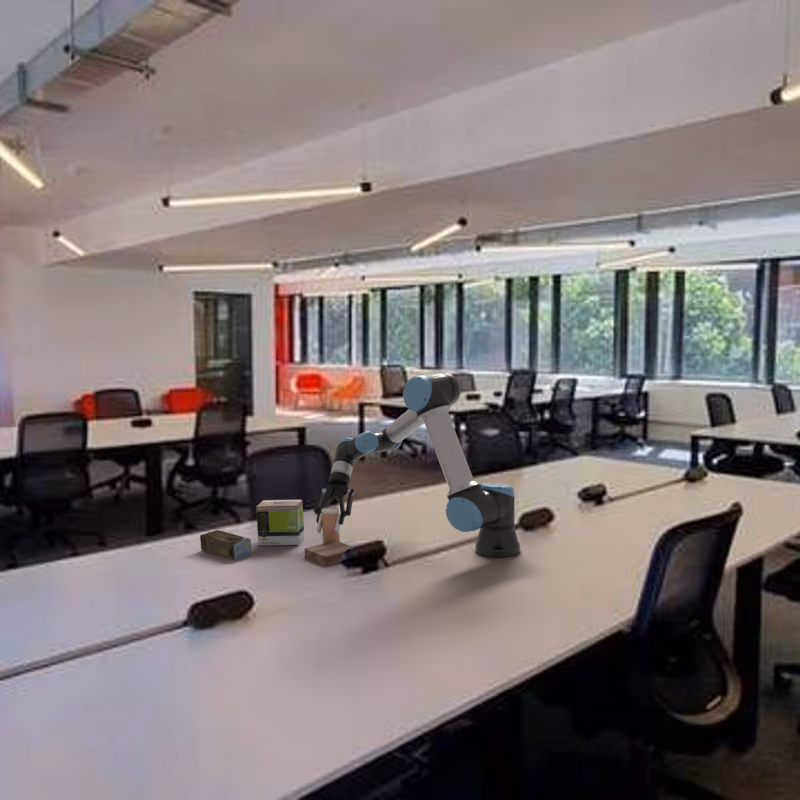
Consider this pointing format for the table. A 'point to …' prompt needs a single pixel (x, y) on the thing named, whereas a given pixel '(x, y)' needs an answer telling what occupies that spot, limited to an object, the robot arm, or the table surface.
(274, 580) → the table surface
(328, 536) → the terracotta canister
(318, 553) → the wooden square slab
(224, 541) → the beverage carton
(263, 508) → the tea box
